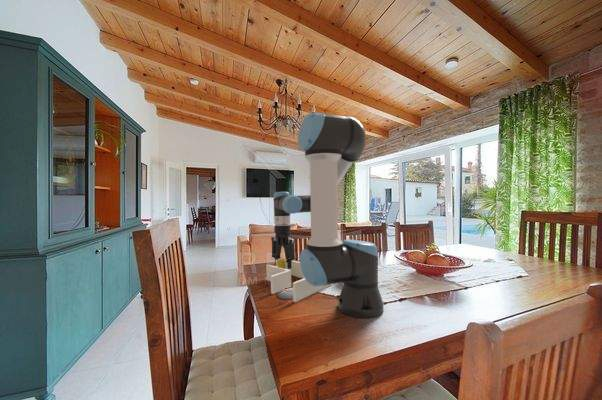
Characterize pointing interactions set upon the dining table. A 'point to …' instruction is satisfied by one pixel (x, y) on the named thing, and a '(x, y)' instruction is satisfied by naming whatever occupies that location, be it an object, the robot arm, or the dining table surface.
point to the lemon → (281, 263)
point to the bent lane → (283, 280)
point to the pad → (286, 295)
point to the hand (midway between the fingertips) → (283, 274)
